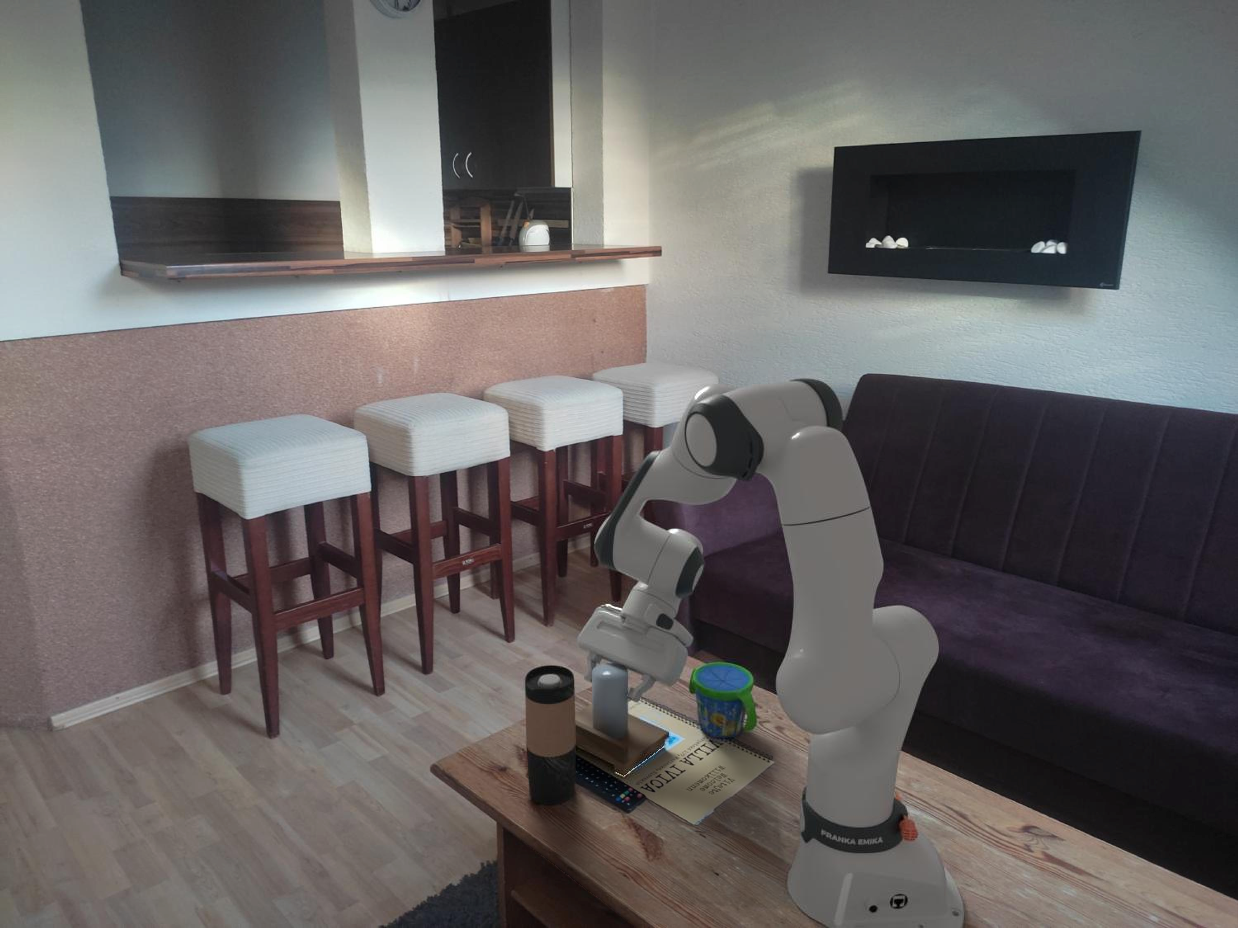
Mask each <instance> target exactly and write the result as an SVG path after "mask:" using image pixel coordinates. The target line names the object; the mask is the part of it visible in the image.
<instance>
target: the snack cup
mask: <svg viewBox="0 0 1238 928" xmlns="http://www.w3.org/2000/svg"><path fill="white" fill-rule="evenodd" d="M754 683H755V679H754V676H753V675H752V673H751V672H750V671H749V670H748V669H746V668H744V667H743V666H740V665H739V664H738V665H737V664H734V663H729V662H710V663H706V664H705V663H704V664H703V665H701V666H699V667H695V668H693V670H692V673H691V675H690V679H689V683H688V691H689V693H690V694H691V695H695V699H696V701H695V702H696V709H697V716H698V717H697V718H698V724H699V728H700V729H702V731H703V733H706V734H708V735H709V736H711V737H712V738H716V739H717V738H724V739H726V738H731V737H733V738H734V737H736V736H737V735H738V734H739V733H740V732H741V730H742V729H743V726H744V729H743V731H745V732H747V733H748V732H750V731H752V730H753V729H754V728H756V726H757V723H758V716H757V712H756V711H757V710H756V704H755V700H754V697H753V694H752V693H751V692H752V691H753V688H754ZM746 716H747V717H746ZM745 717H746V721H745ZM744 722H745V725H744Z"/></svg>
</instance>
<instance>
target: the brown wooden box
mask: <svg viewBox="0 0 1238 928" xmlns="http://www.w3.org/2000/svg"><path fill="white" fill-rule="evenodd" d="M575 729H576V748H579V749H582V750H584V751H585V752H588V753H589V754H590V755H591V754H592V755H593V756H595V757H598V758H600V759H601V760H603V761H606V762H608V763H609V764H612V765H614V766H613V767H614V769H613V771H615V772H617V773H619V774H621V775H623V776H624V775H626V774H627V773H628V772H629V771H631V770H632V769H633V768H635V767H636V766H638V765H639V764H641V763H642V762H643V761H645V760H646V759H648V758H649V757H650V756H652V755H653V754H654V753H656V752H657V751H658V750H659V749H661V748H662V747H663V746H664V745H665V746H666V744H665V743H666V740H667V739H669V738H670V731H669V730H666V729H663V728H662V727H660V726H657V725H655V724H652V723H650V722H649V721H646V720H644V719H641V718H639V717H637V716H635V715H632V714H630V713H628V733H627V734H626V736H624V737H623V738H621V739H618V740H616V739H614V738H612V737H610V736H608V735H606V734H604V733H602V732H600V731H598V730H595V729H593V713H592V703H591V704H589V705H587V706H586V707H583V708H582V709H580V710H579V711H578V712H575Z"/></svg>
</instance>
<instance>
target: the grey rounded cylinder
mask: <svg viewBox="0 0 1238 928" xmlns="http://www.w3.org/2000/svg"><path fill="white" fill-rule="evenodd" d="M628 670H629V669H626V668H625V667H624V666H622V665H619V664H614V663H611V662H609V663H602V664H601V663H600V664H597V665H596V667H595V668H594V669H593V670H592V683H591V687H592V688H591V694H592V695H591V699H592V700H591V701H592V703H591V704H592V713H593V729H595V730H598V731H600V732H602V733H604V734H606V735H608V736H610V737H612V738H614V739H616V740H618V739H621V738H623V737H624V736H626V734H627V733H628V714H629V698H627V694H628V693H629V671H628Z"/></svg>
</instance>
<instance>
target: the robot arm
mask: <svg viewBox="0 0 1238 928" xmlns="http://www.w3.org/2000/svg"><path fill="white" fill-rule="evenodd" d="M843 418H844V416H843V409H842V406H841V402H840V400H839V397H838V396H837V394H836V392H835V391H834V390H833V389H832V388H831V386H830V385H828V383H825V382H824V381H822V380H819V379H815V378H814V379H813V378H793V379H790V380H788V381H787V380H786V381H777V382H769V383H763V384H762V383H755V384H751V385H746V386H743V387H740V388H737V387H735V386H732V385H728V384H724V383H713V384H709V385H706V386H704V387H703V388H700V389H699V390H698V391H697V392H696V393H695V394H694V395H693V397H692V398H691V400H690V401H689V403H688V404H687V406H686V408H685V410H684V412H683V413H682V416H681V417H680V420H679V421H678V425H677V427H676V428H675V432H674V433H673V434H674V435H673V438H672V441H671V443H670V445H669V446H668V447H666V448H664V449H662V450H659V449H658V450H653V451H651V452H650V453H649V454H647V455H646V457H645V458H643V460H642V462H641V463H640V464H639V466H638V468H637V469H636V471H635V473H634V474H633V475H632V476H631V479H630V480H629V482H628V484H627V486H626V487H625V490H624V492H623V493H622V494H621V496H620V498H619V500H618V502H617V504H616V505H615V507H614V509H613V510H612V512H611V514H610V515H609V516H608V517H606V518H605V520H604V521H603V523H602V524H601V526H600V527H599V529H598V531H597V533H596V535H595V539H594V542H593V543H594V544H593V549H594V553H595V555H596V558H597V560H598V562H599V564H600V565H601V566H602V567H605V568H607V569H610V570H612V571H615V572H620V573H622V574H624V575H625V576H628V577H630V578H631V579H634V580H636V581H637V583H636V584H635V585H634V586H633V587H632V589H631V590H630V593H629V595H628V596H627V598H626V600H625V601H624V602H625V603H624V605H623V607H622V608H621V607H617V606H614V605H612V604H610V603H605V604H603V605H600V606H598V607H596V608H595V609H594V611H593V613H592V615H591V617H590V618H589V619H588V621H587V622H586V624H585V625H584V626H583V628H582V630H581V632H579V635H578V636H577V640H576V641H577V646H578V647H579V648H580V649H581V650H583V652H584V653H587V654H588V656H587V670H586V672H585V674H584V677H583V679H584V680H585V681H587V682H589V683H591V684H592V670H593V669H594V668H595V667H596V666H597V665H601V662H602V660H604V661H607V662H609V663H614V664H619V665H622V666H624V667H625V668H626V669H627V670H629V671H631V672H633V673H635V674H638V675H641V678H640V680H641V682H640V683H639V684H638V685H637V686H636V687H635V688H634V687H632V686H631V687H630V689H628V694H627V698H628V700H630V701H633V702H634V703H639V701H640V699H641V698H642V695H643V694H645V693H646V692H647V691H649V690H650V689H652V688H653V687H654V684H655V683H656V682H657V683H658V682H659V683H661V684H663V685H666V686H667V687H672V686H674V685H675V684H677V683H678V682H679V679H680V678H681V676H682V673H683V670H684V669H685V665H686V662H687V659H688V652H689V651H688V648H690V647H691V645H692V644H693V640H694V637H693V635H692V634H691V633H690V632H689V631H688V630H687V628H685V627H684V625H683V624H681V623H680V622H679V620H677V618H676V617H677V614H678V612H679V607H680V604H681V602H682V599H684V598H686V597H689V596H691V595H693V594H694V592H695V589H696V586H697V585H698V583H699V581H700V578H701V577H702V575H704V574H703V573H704V572H705V569H706V561H705V559H704V556H703V552H704V547H703V545H702V543H701V541H700V539H698V538H697V537H696V536H695V535H694V534H692V533H690V532H689V531H686V530H684V529H681V528H670V529H668V530H666V529H664V528H662V527H660V526H658V525H656V524H654V523H652V522H649V521H647V520H646V519H644V517H642V516H641V515H640V513H641V511H642V510H643V507H645V505H646V503H647V502H648V501H650V500H660V501H661V500H664V501H671V502H675V503H676V502H677V503H679V504H683V505H684V504H686V505H689V506H690V505H691V506H692V505H693V506H698V505H706V504H712V503H713V502H717V501H718V500H720V499H721V500H722V499H723V498H724V497H725V496H726V495H727V494H728V493H730V491H731V490H732V488H733V487H734V485H735V484H736V482H737V480H739V481H741V482H747V483H748V482H750V481H751V480H752V478H754V476H755V474H756V473H757V474H759V475H761V476H763V477H765V478H766V479H767V480H768V481H769V482H770V484H771V485H772V487H773V490H774V493H775V498H776V502H777V510H778V513H779V518H780V519H779V520H780V523H781V528H782V531H783V537H784V541H785V546H786V549H787V550H786V551H787V556H788V562H789V565H790V571H791V578H792V582H793V583H792V584H793V611H792V623H791V631H790V638H789V643H788V647H787V650H786V653H785V656H784V658H783V659H782V662H781V665H780V666H779V668H778V670H777V674H776V676H775V677H776V678H775V688H776V689H775V690H776V695H777V698H778V702H779V704H780V707H781V708H782V711H784V713H785V715H786V716H787V718H789V720H790V721H791V722H792V723H793V724H794V725H796V726H797V727H798V728H799V729H801V730H803V731H804V732H807V733H809V734H811V737H810V740H809V743H808V744H809V745H808V754H807V755H808V756H807V757H808V758H807V771H806V782H805V783H806V785H805V786H804V789H803V791H802V797H801V802H800V809H799V832H800V837H799V842H798V848H797V849H796V850H797V851H796V855H795V856H794V860H793V863H792V865H791V868H790V869H789V871H788V874H787V879H786V883H787V890H788V893H789V895H790V897H791V898H792V900H793V902H794V903H795V905H796V906H797V907H798V908H799V909H800V910H801V911H802V912H804V914H806V915H807V916H808V917H810V918H812V919H813V920H815V921H816V922H819V923H820V924H822V925H824V926H826V927H828V928H963V927H964V920H965V911H964V909H965V908H964V905H963V904H964V903H963V900H962V896H961V893H960V891H959V888H958V886H957V883H956V882H955V879H954V878H953V876H952V874H951V873H950V872H949V870H948V869H947V868H946V867H945V865H944V864H943V861H942V858H941V856H940V854H939V852H938V850H937V848H936V846H935V845H934V843H933V842H932V840H931V839H930V838H929V837H928V836H927V835H926V834H925V833H924V832H922V831H920V830H918V829H917V827H916V823H915V822H914V820H911V819H908V818H909V812H908V809H907V807H906V805H905V804H904V803H903V802H902V800H901V796H900V795H899V793H898V792H897V791H896V783H897V774H898V767H899V766H898V765H899V759H900V755H901V751H902V747H903V745H904V741H905V738H906V735H907V732H908V729H909V726H910V724H911V721H912V718H913V715H914V712H915V708H916V706H917V704H918V700H919V697H920V694H921V691H922V688H923V686H924V684H925V681H926V679H927V678H928V676H929V674H930V672H931V670H932V668H933V667H934V665H935V664H936V662H937V660H938V656H939V650H940V647H939V640H938V636H937V633H936V631H935V629H934V627H933V626H932V624H931V622H930V621H929V620H928V618H927V617H925V616H924V615H923V614H922V613H920V612H919V611H917V610H916V609H914V608H911V607H909V606H905V605H897V604H896V605H889V606H884V607H883V606H882V607H876V608H874V604H875V597H876V593H877V588H878V586H879V583H880V582H881V579H882V577H883V573H884V559H883V555H882V549H881V546H880V542H879V537H878V532H877V526H876V524H875V519H874V515H873V510H872V506H871V502H870V498H869V494H868V491H867V490H868V489H867V486H866V484H865V481H864V477H863V474H862V472H861V469H860V466H859V464H858V460H857V458H856V455H855V454H854V451H853V449H852V447H851V444H850V442H849V440H848V439H847V437H846V435H844V433H842V429H843V423H844V422H843V421H844V420H843Z"/></svg>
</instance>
